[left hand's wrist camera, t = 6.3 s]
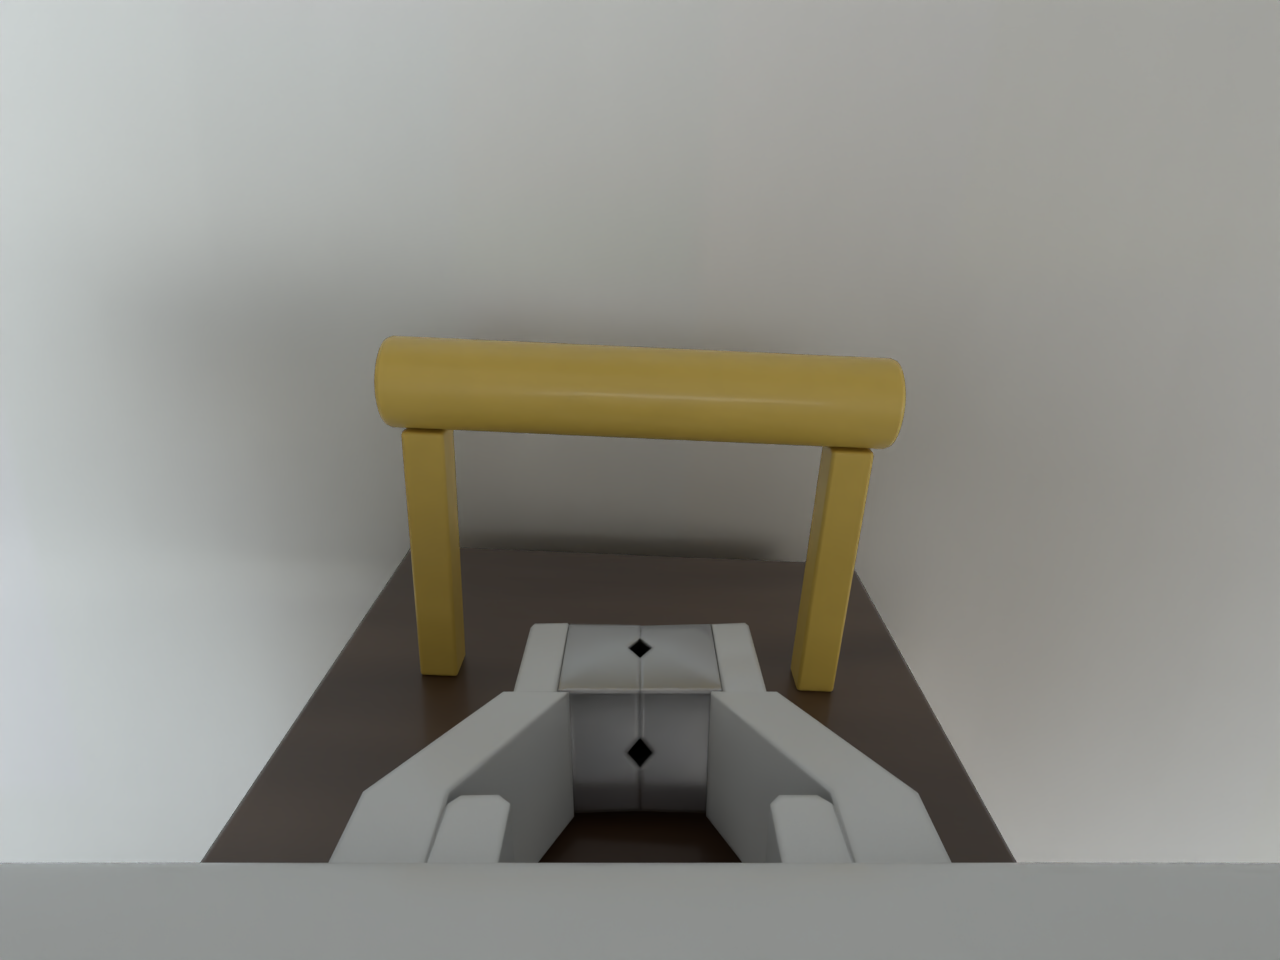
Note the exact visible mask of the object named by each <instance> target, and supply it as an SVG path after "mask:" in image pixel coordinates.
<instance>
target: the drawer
mask: <svg viewBox="0 0 1280 960" xmlns="http://www.w3.org/2000/svg"><path fill="white" fill-rule="evenodd" d="M374 388H375V397H376V403H377V407H378V411H379V414H380V416H381V418H382V420H383V421H384V423H385V424H387V425H389V426H391V427H399V428H406V429H405V430H404V431H403V432H402V434H401V438H402V450H403V462H404V474H405V487H406V499H407V511H408V523H409V535H410V550H409V551H408V553H407V554H406V556H405V557H404V559H403V560H402V562H401V563H400V565H399V566H398V568H397V569H396V571H395V572H394V574H393V575H392V577H391V578H390V580H389V581H388V583H387V584H386V586H385V587H384V589H383V590H382V592H381V593H380V595H379V596H378V598H377V599H376V601H375V602H374V604H373V605H372V606H371V608H370V609H369V611H368V612H367V614H366V615H365V617H364V618H363V620H362V621H361V623H360V624H359V626H358V627H357V629H356V630H355V632H354V633H353V635H352V636H351V638H350V639H349V641H348V642H347V644H346V645H345V647H344V648H343V650H342V651H341V653H340V654H339V656H338V657H337V659H336V660H335V662H334V663H333V665H332V666H331V668H330V669H329V671H328V672H327V674H326V675H325V677H324V678H323V680H322V681H321V683H320V684H319V686H318V687H317V689H316V690H315V692H314V693H313V695H312V696H311V698H310V699H309V701H308V702H307V704H306V705H305V707H304V708H303V710H302V711H301V713H300V714H299V716H298V717H297V719H296V720H295V722H294V723H293V725H292V726H291V728H290V729H289V731H288V732H287V734H286V735H285V737H284V738H283V740H282V741H281V743H280V744H279V746H278V747H277V749H276V750H275V752H274V753H273V755H272V756H271V758H270V759H269V761H268V762H267V764H266V765H265V767H264V768H263V770H262V771H261V773H260V774H259V776H258V777H257V779H256V780H255V782H254V783H253V785H252V786H251V788H250V789H249V791H248V792H247V794H246V795H245V797H244V798H243V800H242V801H241V803H240V804H239V806H238V807H237V808H236V810H235V811H234V813H233V814H232V816H231V817H230V819H229V820H228V822H227V823H226V825H225V826H224V828H223V829H222V831H221V832H220V834H219V835H218V837H217V838H216V840H215V841H214V843H213V844H212V846H211V847H210V849H209V850H208V852H207V853H206V855H205V856H204V858H203V859H202V861H201V862H200V863H328V862H329V860H330V858H331V856H332V854H333V852H334V850H335V848H336V846H337V844H338V842H339V840H340V838H341V836H342V834H343V832H344V830H345V828H346V826H347V823H348V821H349V819H350V817H351V815H352V813H353V811H354V809H355V807H356V805H357V803H358V801H359V799H360V797H361V795H362V793H363V791H365V790H366V789H368V788H369V787H370V786H372V785H373V784H375V783H376V782H377V781H379V780H380V779H382V778H383V777H384V776H386V775H387V774H389V773H390V772H391V771H393V770H394V769H396V768H397V767H398V766H400V765H401V764H403V763H404V762H405V761H407V760H408V759H410V758H411V757H412V756H414V755H415V754H417V753H418V752H419V751H421V750H422V749H424V748H425V747H426V746H428V745H429V744H431V743H432V742H433V741H435V740H436V739H438V738H439V737H440V736H442V735H443V734H445V733H446V732H447V731H449V730H450V729H452V728H453V727H454V726H456V725H457V724H459V723H460V722H461V721H463V720H464V719H466V718H467V717H468V716H470V715H471V714H473V713H474V712H475V711H477V710H478V709H480V708H481V707H482V706H484V705H485V704H487V703H488V702H489V701H491V700H492V699H494V698H495V697H496V696H498V695H499V694H501V693H502V692H513V691H514V688H515V684H516V680H517V677H518V673H519V669H520V665H521V662H522V658H523V654H524V651H525V647H526V643H527V639H528V636H529V632H530V628H531V627H532V626H533V625H534V624H541V623H568V624H569V625H570V624H616V625H640V626H651V625H691V624H727V623H746V624H747V625H748V626H749V629H750V633H751V637H752V640H753V644H754V648H755V651H756V655H757V659H758V662H759V666H760V670H761V673H762V677H763V681H764V684H765V688H766V692H778V693H779V694H781V695H782V696H784V697H785V698H786V699H788V700H789V701H791V702H792V703H793V704H795V705H796V706H798V707H799V708H800V709H802V710H803V711H804V712H806V713H807V714H809V715H810V716H811V717H813V718H814V719H816V720H817V721H818V722H820V723H821V724H823V725H824V726H825V727H827V728H828V729H830V730H831V731H832V732H834V733H835V734H837V735H838V736H839V737H841V738H842V739H844V740H845V741H846V742H848V743H849V744H850V745H852V746H853V747H855V748H856V749H857V750H859V751H860V752H862V753H863V754H864V755H866V756H867V757H869V758H870V759H871V760H873V761H874V762H876V763H877V764H878V765H880V766H881V767H883V768H884V769H885V770H887V771H888V772H889V773H891V774H892V775H894V776H895V777H896V778H898V779H899V780H901V781H902V782H903V783H905V784H906V785H908V786H909V787H910V788H912V789H913V790H915V791H916V792H917V793H918V794H919V796H920V798H921V800H922V802H923V804H924V806H925V809H926V811H927V813H928V815H929V817H930V819H931V821H932V823H933V825H934V827H935V829H936V831H937V833H938V835H939V838H940V840H941V842H942V844H943V846H944V848H945V850H946V852H947V854H948V856H949V858H950V860H951V862H952V863H1017V862H1016V860H1015V859H1014V857H1013V855H1012V853H1011V851H1010V850H1009V848H1008V846H1007V844H1006V842H1005V841H1004V839H1003V837H1002V835H1001V833H1000V832H999V830H998V828H997V826H996V824H995V823H994V821H993V819H992V817H991V815H990V814H989V812H988V810H987V808H986V806H985V805H984V803H983V801H982V799H981V797H980V795H979V794H978V792H977V790H976V788H975V786H974V785H973V783H972V781H971V779H970V777H969V776H968V774H967V772H966V770H965V768H964V767H963V765H962V763H961V761H960V759H959V758H958V756H957V754H956V752H955V750H954V749H953V747H952V745H951V743H950V741H949V739H948V738H947V736H946V734H945V732H944V730H943V729H942V727H941V725H940V723H939V721H938V720H937V718H936V716H935V714H934V712H933V711H932V709H931V707H930V705H929V703H928V702H927V700H926V698H925V696H924V694H923V693H922V691H921V689H920V687H919V685H918V684H917V682H916V680H915V678H914V676H913V674H912V673H911V671H910V669H909V667H908V665H907V664H906V662H905V660H904V658H903V656H902V655H901V653H900V651H899V649H898V647H897V646H896V644H895V642H894V640H893V638H892V637H891V635H890V633H889V631H888V629H887V628H886V626H885V624H884V622H883V620H882V619H881V617H880V615H879V613H878V611H877V609H876V608H875V606H874V604H873V602H872V600H871V599H870V597H869V595H868V593H867V591H866V590H865V588H864V586H863V584H862V582H861V581H860V579H859V577H858V575H857V573H856V572H855V570H854V567H855V561H856V555H857V549H858V543H859V538H860V532H861V526H862V520H863V515H864V509H865V503H866V497H867V491H868V486H869V480H870V474H871V468H872V463H873V457H874V455H873V452H872V451H871V450H870V449H869V448H872V449H884V448H887V447H890V446H891V445H892V444H893V443H894V442H895V440H896V438H897V436H898V434H899V431H900V428H901V425H902V421H903V417H904V411H905V401H906V389H905V380H904V374H903V371H902V368H901V366H900V364H899V363H898V362H897V361H895V360H893V359H891V358H873V357H851V356H829V355H807V354H785V353H763V352H741V351H719V350H697V349H675V348H653V347H631V346H609V345H587V344H565V343H543V342H521V341H499V340H477V339H455V338H433V337H411V336H391V337H388V338H386V339H385V340H384V341H383V342H382V344H381V346H380V348H379V351H378V355H377V359H376V365H375V374H374ZM453 430H466V431H489V432H511V433H534V434H556V435H579V436H601V437H624V438H646V439H669V440H691V441H714V442H736V443H759V444H781V445H804V446H823V447H822V454H821V461H820V468H819V475H818V482H817V489H816V496H815V503H814V509H813V516H812V523H811V530H810V537H809V544H808V551H807V558H806V562H783V561H760V560H736V559H713V558H690V557H667V556H644V555H620V554H597V553H574V552H551V551H528V550H504V549H481V548H460V545H459V527H458V508H457V489H456V471H455V452H454V434H453ZM538 863H742V861H741V860H740V859H739V858H738V856H737V855H736V854H735V852H734V851H733V850H732V849H731V847H730V846H729V845H728V843H727V842H726V841H725V840H724V838H723V837H722V836H721V834H720V833H719V832H718V831H717V829H716V828H715V827H714V825H713V824H712V823H711V822H710V820H709V819H708V818H707V816H706V813H696V812H660V811H619V812H584V813H574V817H573V819H572V820H571V821H570V822H569V824H568V825H567V826H566V827H565V829H564V830H563V831H562V833H561V834H560V835H559V836H558V838H557V839H556V840H555V842H554V843H553V844H552V845H551V847H550V848H549V849H548V850H547V852H546V853H545V854H544V856H543V857H542V858H541V859H540V861H539V862H538Z"/></svg>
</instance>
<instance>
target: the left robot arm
mask: <svg viewBox="0 0 1280 960" xmlns="http://www.w3.org/2000/svg"><path fill="white" fill-rule="evenodd" d="M619 811H660V812H696V813H706V816H707V818H708V819H709V820H710V822H711V823H712V824H713V825H714V827H715V828H716V829H717V831H718V832H719V833H720V834H721V836H722V837H723V838H724V840H725V841H726V842H727V843H728V845H729V846H730V847H731V849H732V850H733V851H734V852H735V854H736V855H737V856H738V858H739V859H740V860H741V861H742V863H538V862H539V861H540V859H541V858H542V857H543V856H544V854H545V853H546V852H547V850H548V849H549V848H550V847H551V845H552V844H553V843H554V842H555V840H556V839H557V838H558V836H559V835H560V834H561V833H562V831H563V830H564V829H565V827H566V826H567V825H568V824H569V822H570V821H571V820H572V819H573V817H574V813H584V812H619ZM0 960H1280V863H952V862H951V860H950V858H949V856H948V854H947V852H946V850H945V848H944V846H943V844H942V842H941V840H940V838H939V835H938V833H937V831H936V829H935V827H934V825H933V823H932V821H931V819H930V817H929V815H928V813H927V811H926V809H925V806H924V804H923V802H922V800H921V798H920V796H919V794H918V793H917V792H916V791H915V790H913V789H912V788H910V787H909V786H908V785H906V784H905V783H903V782H902V781H901V780H899V779H898V778H896V777H895V776H894V775H892V774H891V773H889V772H888V771H887V770H885V769H884V768H883V767H881V766H880V765H878V764H877V763H876V762H874V761H873V760H871V759H870V758H869V757H867V756H866V755H864V754H863V753H862V752H860V751H859V750H857V749H856V748H855V747H853V746H852V745H850V744H849V743H848V742H846V741H845V740H844V739H842V738H841V737H839V736H838V735H837V734H835V733H834V732H832V731H831V730H830V729H828V728H827V727H825V726H824V725H823V724H821V723H820V722H818V721H817V720H816V719H814V718H813V717H811V716H810V715H809V714H807V713H806V712H804V711H803V710H802V709H800V708H799V707H798V706H796V705H795V704H793V703H792V702H791V701H789V700H788V699H786V698H785V697H784V696H782V695H781V694H779V693H778V692H766V688H765V684H764V681H763V677H762V673H761V670H760V666H759V662H758V659H757V655H756V651H755V648H754V644H753V640H752V637H751V633H750V629H749V626H748V625H747V624H746V623H727V624H691V625H651V626H640V625H616V624H570V625H569V624H568V623H541V624H534V625H533V626H532V627H531V628H530V632H529V636H528V639H527V643H526V647H525V651H524V654H523V658H522V662H521V665H520V669H519V673H518V677H517V680H516V684H515V688H514V691H513V692H502V693H501V694H499V695H498V696H496V697H495V698H494V699H492V700H491V701H489V702H488V703H487V704H485V705H484V706H482V707H481V708H480V709H478V710H477V711H475V712H474V713H473V714H471V715H470V716H468V717H467V718H466V719H464V720H463V721H461V722H460V723H459V724H457V725H456V726H454V727H453V728H452V729H450V730H449V731H447V732H446V733H445V734H443V735H442V736H440V737H439V738H438V739H436V740H435V741H433V742H432V743H431V744H429V745H428V746H426V747H425V748H424V749H422V750H421V751H419V752H418V753H417V754H415V755H414V756H412V757H411V758H410V759H408V760H407V761H405V762H404V763H403V764H401V765H400V766H398V767H397V768H396V769H394V770H393V771H391V772H390V773H389V774H387V775H386V776H384V777H383V778H382V779H380V780H379V781H377V782H376V783H375V784H373V785H372V786H370V787H369V788H368V789H366V790H365V791H363V793H362V795H361V797H360V799H359V801H358V803H357V805H356V807H355V809H354V811H353V813H352V815H351V817H350V819H349V821H348V823H347V826H346V828H345V830H344V832H343V834H342V836H341V838H340V840H339V842H338V844H337V846H336V848H335V850H334V852H333V854H332V856H331V858H330V860H329V862H328V863H0Z"/></svg>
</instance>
